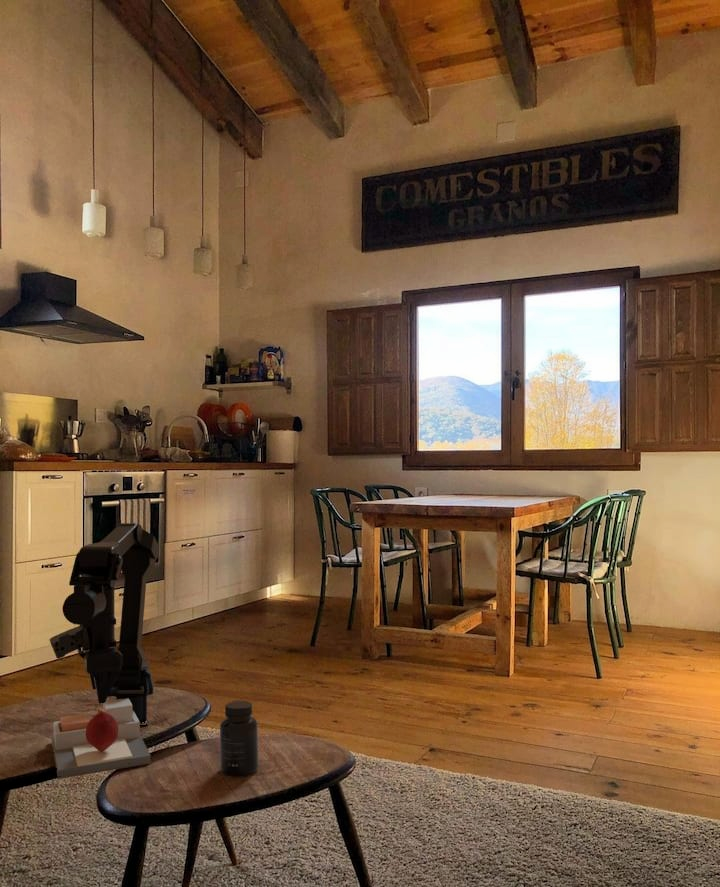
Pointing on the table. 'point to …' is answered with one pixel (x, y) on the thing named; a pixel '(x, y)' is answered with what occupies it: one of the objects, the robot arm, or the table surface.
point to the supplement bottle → (238, 740)
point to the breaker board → (86, 759)
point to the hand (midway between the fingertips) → (98, 695)
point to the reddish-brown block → (74, 722)
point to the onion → (102, 730)
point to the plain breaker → (119, 710)
